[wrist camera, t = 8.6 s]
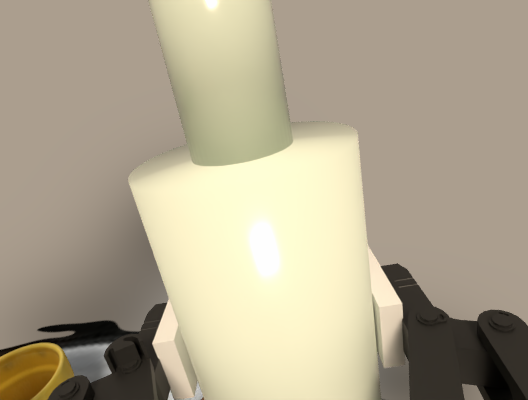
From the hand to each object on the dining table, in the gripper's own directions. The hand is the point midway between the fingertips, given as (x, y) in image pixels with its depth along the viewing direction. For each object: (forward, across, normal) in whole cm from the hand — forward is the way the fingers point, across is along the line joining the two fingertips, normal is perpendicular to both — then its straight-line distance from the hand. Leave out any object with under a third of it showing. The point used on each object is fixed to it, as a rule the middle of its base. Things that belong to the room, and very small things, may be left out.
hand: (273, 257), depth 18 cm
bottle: (-5, 0, -11) cm, 12 cm away
